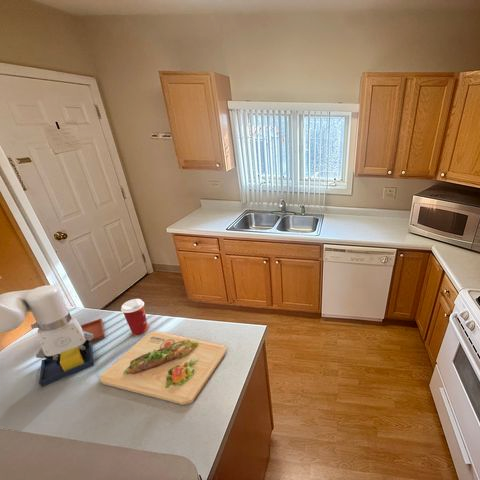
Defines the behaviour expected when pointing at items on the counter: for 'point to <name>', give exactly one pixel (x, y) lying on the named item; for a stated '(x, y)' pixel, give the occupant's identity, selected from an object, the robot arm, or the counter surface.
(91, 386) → the counter surface
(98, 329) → the sponge dish
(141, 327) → the paper cup
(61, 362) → the sponge
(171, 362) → the cutting board
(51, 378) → the baking tray
